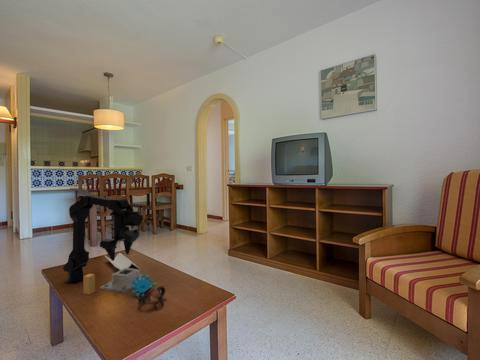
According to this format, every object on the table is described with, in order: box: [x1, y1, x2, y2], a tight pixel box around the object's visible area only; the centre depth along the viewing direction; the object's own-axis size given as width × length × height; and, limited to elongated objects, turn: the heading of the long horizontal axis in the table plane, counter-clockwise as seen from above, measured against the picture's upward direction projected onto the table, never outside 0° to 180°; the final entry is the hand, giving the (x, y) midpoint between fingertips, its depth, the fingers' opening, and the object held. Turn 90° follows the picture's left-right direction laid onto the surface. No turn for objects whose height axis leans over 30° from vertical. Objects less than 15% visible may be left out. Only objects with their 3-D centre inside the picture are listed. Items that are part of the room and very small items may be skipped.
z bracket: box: [104, 252, 140, 271], centre depth 145 cm, size 12×25×6 cm
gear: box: [130, 274, 157, 298], centre depth 111 cm, size 11×6×10 cm
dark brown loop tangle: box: [136, 285, 166, 311], centre depth 101 cm, size 12×10×8 cm
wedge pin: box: [82, 273, 96, 295], centre depth 111 cm, size 3×3×8 cm
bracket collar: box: [99, 267, 150, 294], centre depth 122 cm, size 14×18×6 cm
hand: (120, 257), depth 116 cm, fingers open, 9 cm apart
